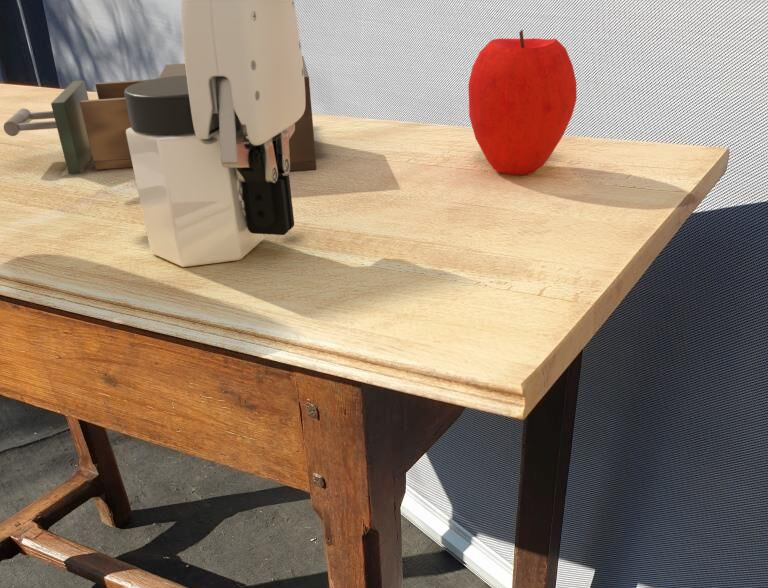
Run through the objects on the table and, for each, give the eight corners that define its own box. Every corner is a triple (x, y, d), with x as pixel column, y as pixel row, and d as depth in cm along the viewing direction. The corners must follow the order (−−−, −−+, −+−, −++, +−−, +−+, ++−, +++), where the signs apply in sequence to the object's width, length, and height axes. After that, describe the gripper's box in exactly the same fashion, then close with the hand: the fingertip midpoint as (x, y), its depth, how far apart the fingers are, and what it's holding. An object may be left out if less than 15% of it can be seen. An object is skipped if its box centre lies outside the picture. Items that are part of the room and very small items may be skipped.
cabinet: (170, 180, 83) (153, 86, 78) (180, 149, 93) (165, 64, 88) (316, 169, 84) (308, 76, 79) (310, 139, 94) (303, 55, 89)
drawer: (9, 181, 81) (-12, 107, 78) (35, 152, 91) (17, 84, 87) (207, 166, 83) (195, 93, 79) (212, 139, 92) (202, 72, 88)
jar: (231, 271, 62) (205, 98, 55) (135, 264, 64) (97, 96, 57) (277, 231, 69) (258, 73, 62) (188, 226, 71) (161, 72, 64)
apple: (573, 157, 84) (585, 21, 77) (566, 186, 76) (578, 37, 69) (475, 155, 86) (478, 22, 79) (458, 183, 78) (459, 38, 71)
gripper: (231, -56, 60) (264, 199, 71) (123, -39, 49) (182, 263, 59) (329, -60, 58) (348, 202, 69) (240, -44, 47) (280, 269, 57)
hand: (271, 230), depth 64 cm, fingers closed
